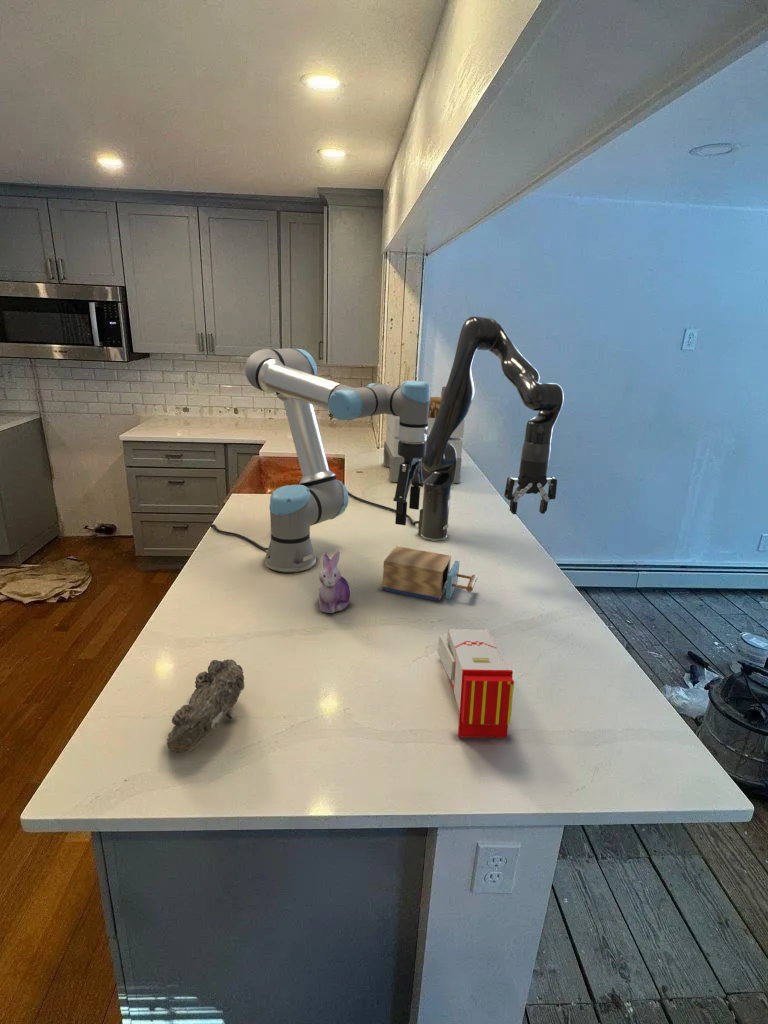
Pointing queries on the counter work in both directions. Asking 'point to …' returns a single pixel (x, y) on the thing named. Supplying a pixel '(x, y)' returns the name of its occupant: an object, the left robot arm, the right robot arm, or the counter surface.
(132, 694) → the counter surface
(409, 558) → the cabinet
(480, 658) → the toy
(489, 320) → the right robot arm
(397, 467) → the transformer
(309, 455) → the left robot arm
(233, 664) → the fossil
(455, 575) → the drawer
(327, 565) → the figurine
